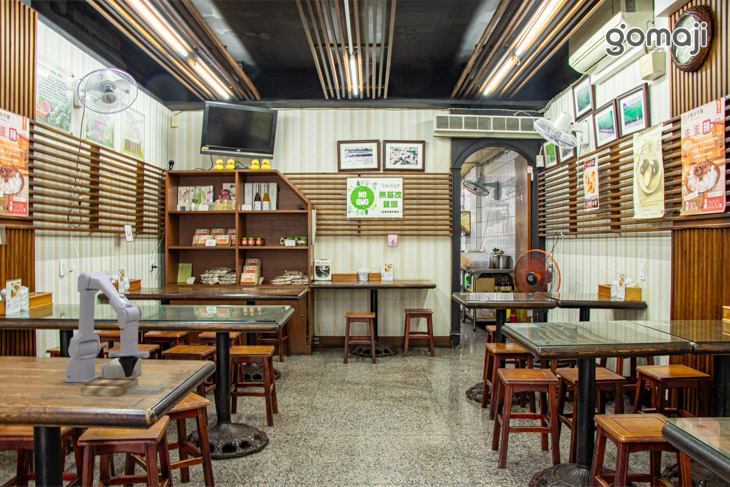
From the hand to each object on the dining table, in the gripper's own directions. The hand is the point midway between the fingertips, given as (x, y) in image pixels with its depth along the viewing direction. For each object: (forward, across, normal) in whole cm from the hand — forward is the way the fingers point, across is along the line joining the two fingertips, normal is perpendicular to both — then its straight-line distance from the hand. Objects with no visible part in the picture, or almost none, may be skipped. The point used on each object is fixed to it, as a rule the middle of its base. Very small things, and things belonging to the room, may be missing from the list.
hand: (128, 376), depth 160 cm
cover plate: (+6, +6, 0) cm, 9 cm away
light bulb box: (+2, -7, +16) cm, 17 cm away
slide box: (+5, -7, 0) cm, 9 cm away
